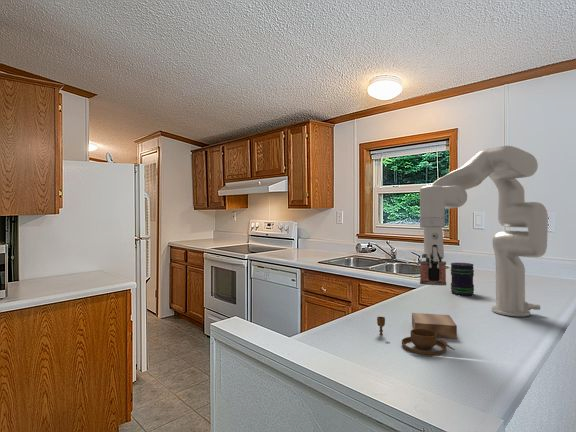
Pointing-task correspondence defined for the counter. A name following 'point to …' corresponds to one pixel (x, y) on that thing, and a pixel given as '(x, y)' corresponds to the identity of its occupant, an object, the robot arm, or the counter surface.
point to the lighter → (424, 272)
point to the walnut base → (435, 324)
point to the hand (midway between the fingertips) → (432, 278)
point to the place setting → (419, 340)
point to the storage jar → (462, 279)
